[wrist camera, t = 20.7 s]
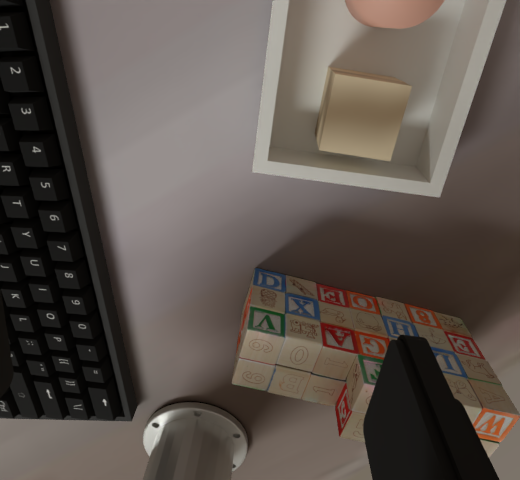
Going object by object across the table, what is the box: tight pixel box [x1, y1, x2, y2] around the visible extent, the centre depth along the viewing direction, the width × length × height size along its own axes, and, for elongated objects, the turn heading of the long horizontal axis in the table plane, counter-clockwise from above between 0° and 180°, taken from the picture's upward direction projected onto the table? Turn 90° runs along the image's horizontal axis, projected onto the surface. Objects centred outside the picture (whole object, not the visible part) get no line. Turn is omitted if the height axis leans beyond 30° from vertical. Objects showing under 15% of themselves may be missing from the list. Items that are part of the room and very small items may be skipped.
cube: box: [315, 67, 412, 161], centre depth 31 cm, size 5×5×5 cm
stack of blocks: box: [232, 268, 520, 457], centre depth 38 cm, size 21×6×12 cm, turn 76°
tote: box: [252, 0, 506, 198], centre depth 30 cm, size 18×14×5 cm
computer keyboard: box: [0, 0, 137, 421], centre depth 40 cm, size 45×16×4 cm, turn 1°
